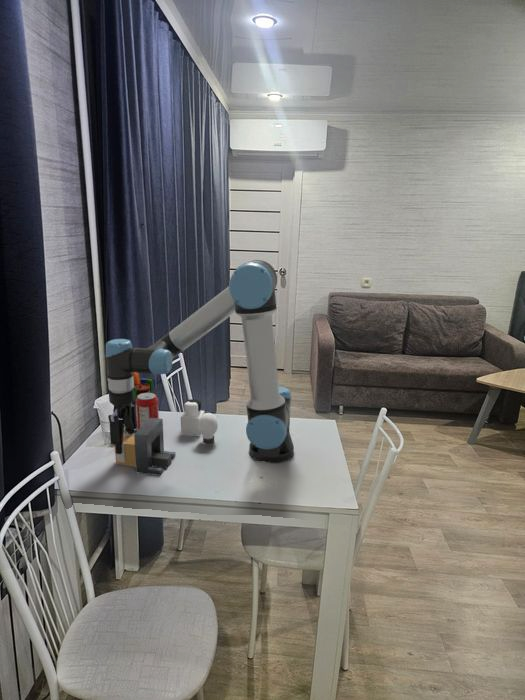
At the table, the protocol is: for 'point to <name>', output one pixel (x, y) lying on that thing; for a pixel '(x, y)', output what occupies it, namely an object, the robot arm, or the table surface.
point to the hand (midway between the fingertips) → (125, 456)
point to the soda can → (146, 408)
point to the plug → (129, 441)
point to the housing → (149, 446)
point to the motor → (141, 385)
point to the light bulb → (208, 427)
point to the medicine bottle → (191, 417)
